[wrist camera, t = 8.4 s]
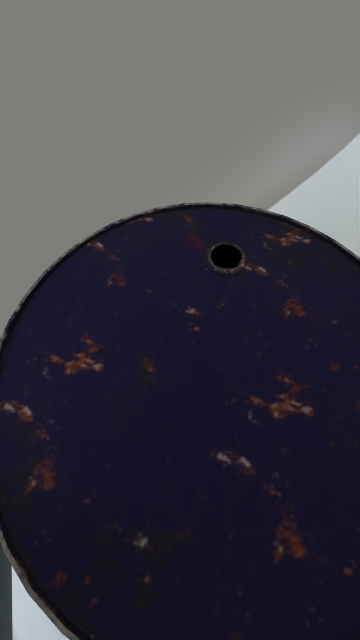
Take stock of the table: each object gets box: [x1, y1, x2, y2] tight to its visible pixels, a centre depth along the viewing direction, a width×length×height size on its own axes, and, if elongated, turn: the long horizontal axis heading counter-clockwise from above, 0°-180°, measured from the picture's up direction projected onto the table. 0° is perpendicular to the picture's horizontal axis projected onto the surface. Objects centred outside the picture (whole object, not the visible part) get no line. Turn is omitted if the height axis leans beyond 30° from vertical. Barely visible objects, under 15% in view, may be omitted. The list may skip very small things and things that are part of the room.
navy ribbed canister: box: [0, 202, 360, 640], centre depth 12 cm, size 10×10×15 cm
